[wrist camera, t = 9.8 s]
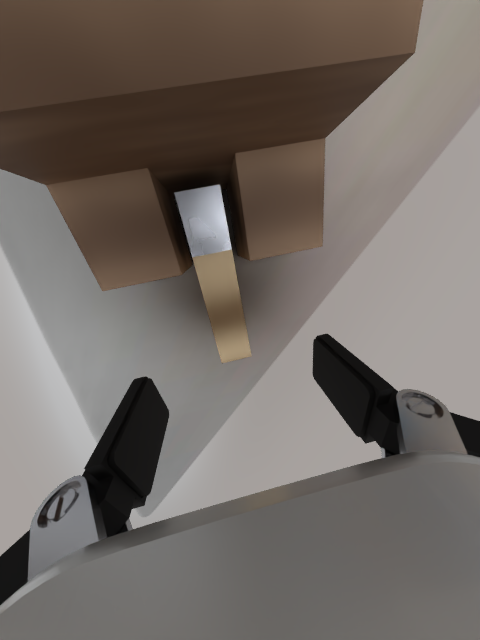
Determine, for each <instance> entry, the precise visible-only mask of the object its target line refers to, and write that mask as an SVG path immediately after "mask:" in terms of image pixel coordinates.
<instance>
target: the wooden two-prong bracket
mask: <svg viewBox="0 0 480 640" xmlns="http://www.w3.org/2000/svg"><path fill="white" fill-rule="evenodd" d="M422 6H423V0H0V169H3V170H6V171H8V172H11V173H14V174H17V175H20V176H22V177H25V178H28V179H31V180H34V181H36V182H39V183H42V184H45V185H46V186H47V188H48V190H49V191H50V193H51V195H52V197H53V199H54V201H55V203H56V205H57V206H58V208H59V210H60V212H61V214H62V216H63V218H64V220H65V222H66V223H67V225H68V227H69V229H70V231H71V233H72V235H73V237H74V238H75V240H76V242H77V244H78V246H79V248H80V250H81V252H82V253H83V255H84V257H85V259H86V261H87V263H88V265H89V267H90V268H91V270H92V272H93V274H94V276H95V278H96V280H97V282H98V284H99V285H100V287H101V289H102V291H106V290H111V289H116V288H121V287H126V286H131V285H135V284H140V283H145V282H150V281H155V280H160V279H165V278H170V277H175V276H180V275H182V274H183V273H184V272H185V271H187V270H188V269H189V268H190V267H191V266H192V265H193V264H192V260H191V257H190V253H189V250H188V246H187V243H186V239H185V236H184V232H183V229H182V225H181V222H180V218H179V215H178V211H177V207H176V204H175V200H174V198H176V197H175V194H174V192H180V191H186V190H191V189H197V188H203V187H208V186H214V185H220V188H221V190H224V189H227V195H228V201H229V207H230V212H231V218H232V224H233V230H234V236H235V241H236V247H237V253H238V256H240V257H242V258H245V259H247V260H249V261H253V260H258V259H263V258H268V257H272V256H277V255H282V254H287V253H292V252H297V251H302V250H307V249H312V248H317V247H321V246H322V244H323V204H324V164H325V138H326V137H327V136H328V135H329V134H330V133H331V132H332V131H333V130H334V129H335V128H336V127H337V126H338V125H339V124H340V123H342V122H343V121H344V120H345V119H346V118H347V117H348V116H349V115H350V114H351V113H352V112H353V111H354V110H355V109H356V108H357V107H358V106H359V105H360V104H361V103H362V102H364V101H365V100H366V99H367V98H368V97H369V96H370V95H371V94H372V93H373V92H374V91H375V90H376V89H377V88H378V87H379V86H380V85H381V84H382V83H383V82H384V81H386V80H387V79H388V78H389V77H390V76H391V75H392V74H393V73H394V72H395V71H396V70H397V69H398V68H399V67H400V66H401V65H402V64H403V63H404V62H405V61H406V60H407V59H409V58H410V57H411V56H412V55H413V54H414V53H415V48H416V42H417V36H418V30H419V24H420V18H421V12H422Z"/></svg>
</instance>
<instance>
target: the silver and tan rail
mask: <svg viewBox="0 0 480 640" xmlns="http://www.w3.org/2000/svg"><path fill="white" fill-rule="evenodd" d="M174 194H175V197H176V201H177V205H178V208H179V212H180V215H181V219H182V222H183V226H184V230H185V233H186V237H187V240H188V244H189V247H190V251H191V255H192V258H193V262H194V265H195V269H196V272H197V276H198V280H199V283H200V287H201V290H202V294H203V297H204V301H205V305H206V308H207V312H208V315H209V319H210V322H211V326H212V330H213V333H214V337H215V340H216V344H217V347H218V351H219V355H220V358H221V362H222V363H225V362H230V361H234V360H238V359H242V358H246V357H251V351H250V346H249V340H248V335H247V329H246V324H245V318H244V313H243V308H242V302H241V297H240V291H239V286H238V280H237V275H236V270H235V264H234V259H233V253H232V248H231V242H230V237H229V231H228V226H227V221H226V215H225V210H224V204H223V199H222V193H221V188H220V185H214V186H208V187H203V188H197V189H191V190H186V191H180V192H174Z"/></svg>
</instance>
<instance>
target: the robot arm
mask: <svg viewBox="0 0 480 640" xmlns="http://www.w3.org/2000/svg"><path fill="white" fill-rule="evenodd" d="M313 377H314V379H315V380H316V382H317V383H318V385H319V386H320V387H321V389H322V390H323V391H324V393H325V394H326V395H327V397H328V398H329V399H330V401H331V402H332V404H333V405H334V406H335V408H336V409H337V410H338V412H339V413H340V415H341V416H342V417H343V419H344V420H345V421H346V423H347V424H348V425H349V427H350V428H351V429H352V431H353V432H354V433H355V435H356V436H358V437H361V438H362V440H363V441H364V442H365V443H369V442H373V441H376V442H377V443H378V445H379V446H380V447H381V452H382V458H381V459H377V460H374V461H370V462H366V463H362V464H358V465H354V466H351V467H347V468H343V469H340V470H336V471H333V472H329V473H326V474H322V475H319V476H315V477H311V478H308V479H305V480H301V481H297V482H294V483H290V484H287V485H283V486H280V487H276V488H273V489H269V490H266V491H262V492H259V493H255V494H252V495H248V496H245V497H241V498H238V499H235V500H231V501H228V502H224V503H220V504H217V505H213V506H210V507H207V508H203V509H200V510H196V511H193V512H190V513H186V514H183V515H179V516H176V517H173V518H169V519H166V520H162V521H159V522H155V523H152V524H149V525H146V526H143V527H140V528H136V529H133V528H132V525H131V523H130V520H129V517H130V513H131V510H132V509H133V508H137V507H141V506H144V505H145V501H146V497H147V496H148V495H149V494H150V492H151V489H152V485H153V481H154V477H155V472H156V468H157V464H158V460H159V456H160V452H161V447H162V443H163V439H164V435H165V431H166V427H167V423H168V418H169V410H168V408H167V406H166V404H165V403H164V401H163V399H162V397H161V395H160V394H159V392H158V390H157V388H156V386H155V385H154V383H153V381H152V379H150V378H149V379H148V377H141V378H137V379H134V380H133V382H132V383H131V385H130V387H129V389H128V391H127V392H126V394H125V396H124V398H123V400H122V401H121V403H120V405H119V407H118V409H117V410H116V412H115V414H114V416H113V418H112V419H111V421H110V423H109V425H108V427H107V428H106V430H105V432H104V434H103V436H102V437H101V439H100V441H99V443H98V445H97V446H96V448H95V450H94V452H93V454H92V455H91V457H90V459H89V461H88V463H87V465H86V466H85V472H84V473H83V475H82V476H80V475H79V476H74V477H72V478H70V479H68V480H66V481H65V482H63V483H62V484H60V485H59V486H58V487H57V488H56V489H55V490H53V491H52V492H51V493H50V494H49V496H48V497H47V498H46V499H45V500H44V501H43V503H42V504H41V505H40V507H39V508H38V510H37V511H36V513H35V515H34V517H33V519H32V523H31V528H30V530H29V531H28V532H27V533H26V534H24V535H23V536H22V537H21V538H20V539H19V540H18V541H17V542H16V543H15V544H13V545H12V546H11V547H10V548H9V549H8V550H7V551H6V552H5V553H3V554H2V555H1V556H0V640H480V421H477V420H473V419H470V418H467V417H464V416H460V415H457V414H454V413H451V412H449V411H448V409H447V408H446V406H445V405H444V404H443V403H442V402H440V401H439V400H438V399H436V398H435V397H433V396H431V395H429V394H427V393H424V392H421V391H418V390H412V389H404V390H401V391H399V392H398V391H397V390H396V389H394V388H393V387H392V386H391V385H390V384H389V383H388V382H386V381H385V380H384V379H383V378H381V377H380V376H379V375H378V374H377V373H375V372H374V371H373V370H372V369H370V368H369V367H368V366H367V365H365V364H364V363H363V362H362V361H361V360H359V359H358V358H357V357H356V356H354V355H353V354H352V353H351V352H349V351H348V350H347V349H346V348H344V347H343V346H342V345H341V344H340V343H338V342H337V341H336V340H335V339H334V338H332V337H331V336H330V335H328V334H323V335H319V336H317V337H316V339H314V343H313Z"/></svg>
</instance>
